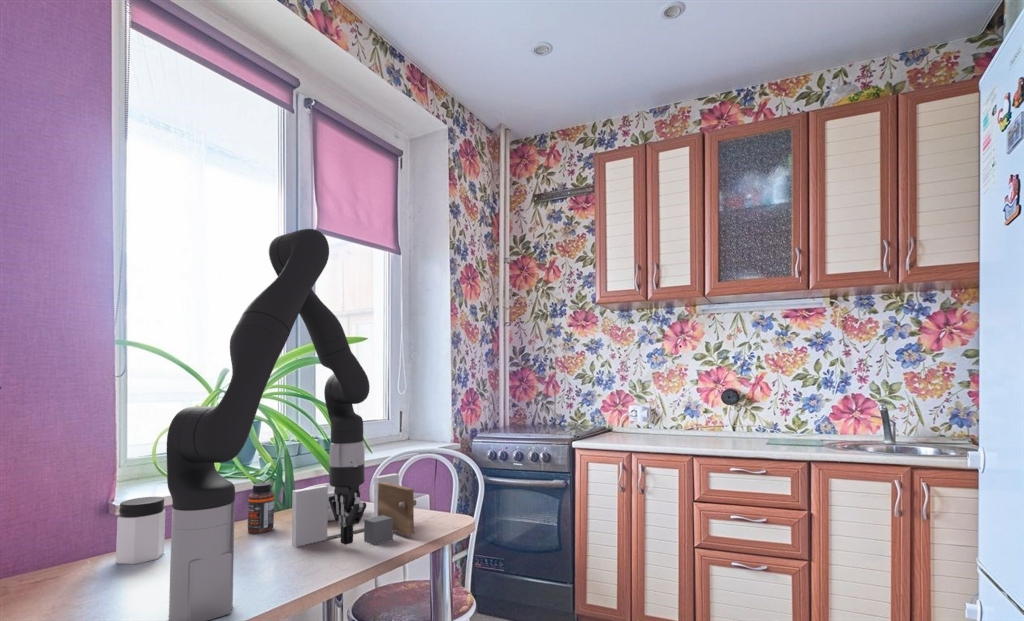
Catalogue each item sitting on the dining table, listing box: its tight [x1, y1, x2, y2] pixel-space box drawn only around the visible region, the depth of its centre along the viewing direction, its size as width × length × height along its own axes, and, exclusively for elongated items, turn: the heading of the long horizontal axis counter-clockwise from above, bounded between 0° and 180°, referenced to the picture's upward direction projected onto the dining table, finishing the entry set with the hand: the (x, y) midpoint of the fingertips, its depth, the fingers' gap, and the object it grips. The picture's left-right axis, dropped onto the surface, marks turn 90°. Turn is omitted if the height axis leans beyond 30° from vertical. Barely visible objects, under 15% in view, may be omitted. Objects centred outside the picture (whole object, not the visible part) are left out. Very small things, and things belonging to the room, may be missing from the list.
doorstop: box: [363, 515, 394, 546], centre depth 133 cm, size 4×5×5 cm
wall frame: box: [291, 473, 400, 548], centre depth 140 cm, size 2×27×12 cm, turn 134°
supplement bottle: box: [247, 482, 275, 534], centre depth 144 cm, size 6×6×11 cm
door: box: [378, 482, 418, 535], centre depth 140 cm, size 4×14×10 cm, turn 44°
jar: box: [115, 496, 166, 565], centre depth 125 cm, size 9×8×12 cm
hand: (346, 543), depth 128 cm, fingers closed
